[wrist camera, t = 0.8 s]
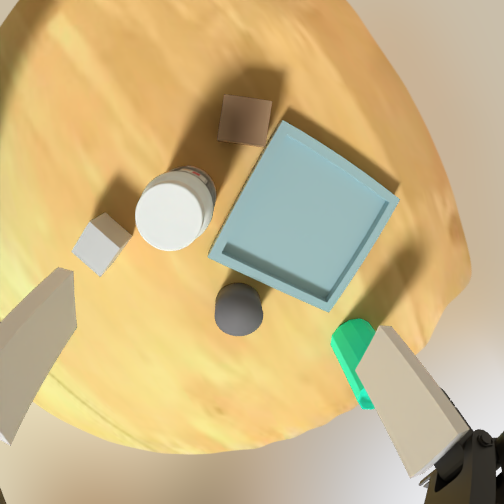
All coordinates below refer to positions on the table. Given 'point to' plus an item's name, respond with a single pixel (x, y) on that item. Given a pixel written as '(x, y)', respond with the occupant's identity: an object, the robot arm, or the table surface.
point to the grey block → (101, 243)
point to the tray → (303, 219)
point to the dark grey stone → (238, 309)
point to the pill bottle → (176, 208)
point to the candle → (353, 354)
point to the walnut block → (244, 120)
